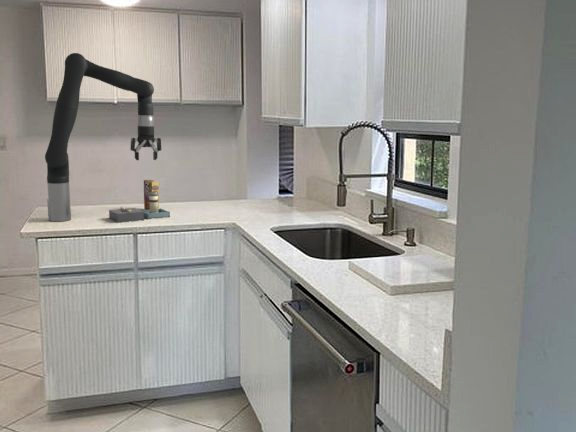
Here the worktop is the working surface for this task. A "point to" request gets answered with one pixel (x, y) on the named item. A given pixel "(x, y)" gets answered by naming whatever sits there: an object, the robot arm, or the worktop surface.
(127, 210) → the fuse block
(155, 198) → the fuse
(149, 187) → the candy box
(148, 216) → the tray
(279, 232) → the worktop surface
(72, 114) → the robot arm
